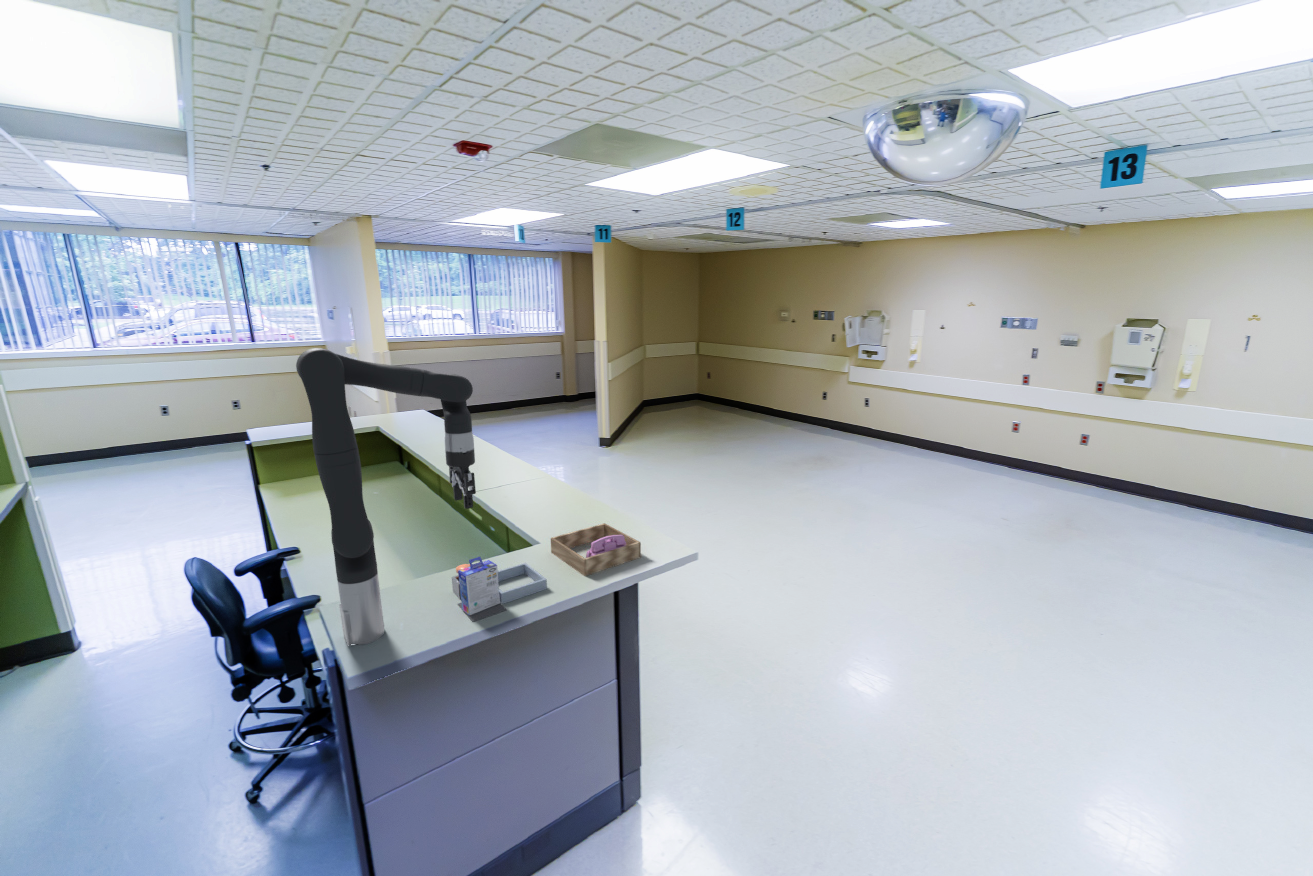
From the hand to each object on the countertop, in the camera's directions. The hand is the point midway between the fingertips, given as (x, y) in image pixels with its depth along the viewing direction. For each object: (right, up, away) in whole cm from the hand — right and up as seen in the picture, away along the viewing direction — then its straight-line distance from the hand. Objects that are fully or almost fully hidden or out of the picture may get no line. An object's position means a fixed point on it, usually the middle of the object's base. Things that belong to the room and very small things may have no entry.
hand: (463, 503), depth 156 cm
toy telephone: (+36, -25, +32) cm, 54 cm away
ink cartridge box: (+4, -30, +4) cm, 31 cm away
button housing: (-4, -29, +13) cm, 32 cm away
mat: (+4, -31, +4) cm, 31 cm away
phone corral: (+33, -23, +39) cm, 56 cm away
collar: (+10, -28, +16) cm, 34 cm away
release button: (-4, -28, +13) cm, 31 cm away
